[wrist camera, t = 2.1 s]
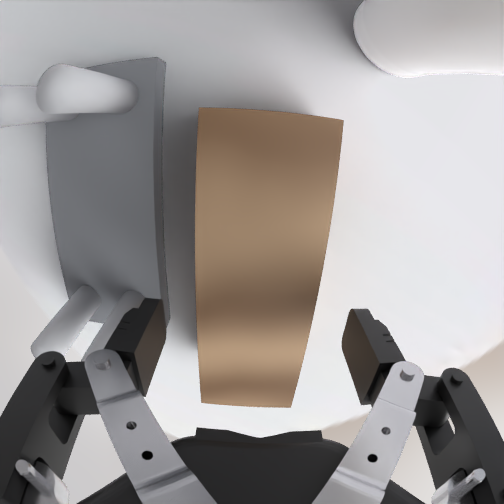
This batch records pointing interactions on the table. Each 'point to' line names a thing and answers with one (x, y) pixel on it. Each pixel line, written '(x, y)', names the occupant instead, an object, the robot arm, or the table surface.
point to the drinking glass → (432, 36)
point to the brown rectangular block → (259, 247)
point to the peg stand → (100, 189)
